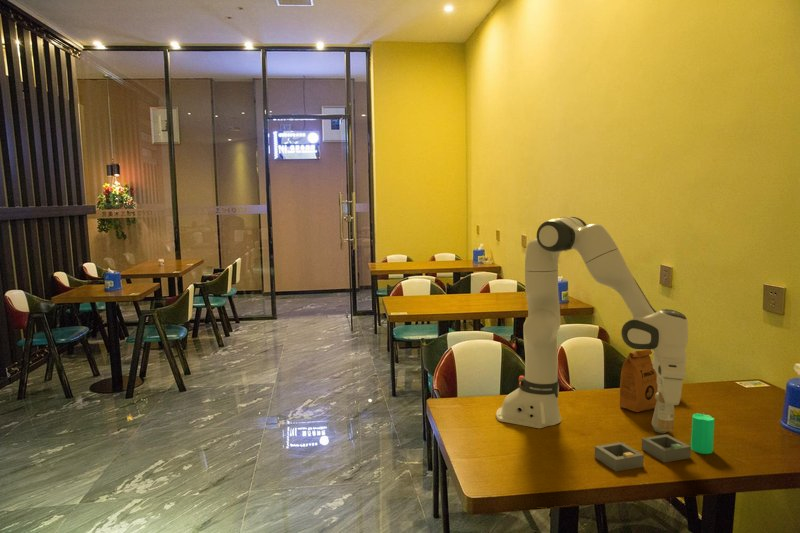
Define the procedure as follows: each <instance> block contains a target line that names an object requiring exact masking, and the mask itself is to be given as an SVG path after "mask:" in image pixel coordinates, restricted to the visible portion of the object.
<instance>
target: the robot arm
mask: <svg viewBox="0 0 800 533" xmlns="http://www.w3.org/2000/svg"><path fill="white" fill-rule="evenodd" d="M536 231H537V232H536V238H534V239H531V240H529V242H528V243H527V246H526V251H525V258H524V259H525V260H524V285H525V286H524V287H525V293H524V294H525V297H526V302H527V303H526V304H527V312H528V314H527V317H526V319H525V321H524V322H523V328H522V330H523V331H522V332H523V345H524V346H523V347H524V357H525V360H524V362H525V363H524V365H525V366H524V369H525V370H524V375H519V377H518V388H516V389H515V390H513V391H512V392H510V393H509V394H507V395H506V396H505V397H504V400H503V402H502V406H500V407H499V408H497V410H496V412H495V417H496V420H498V421H499V422H503V423H508V424H513V425H519V426H525V427H529V428H530V427H531V428H537V429H542V428H545V427H550V426H551V427H552V426H555V425H558V424H559V423H561V422H562V417H561V413H560V408H559V399H558V397H559V394H560V383H559V380H558V369H559V368H558V366H559V357H558V347H557V346H558V342H557V341H558V339H557V338H558V337H557V336H558V331H559V329H560V327H561V308H560V307H561V306H560V296H559V265H558V264H559V256H560V254H561V253H562V252H567V251H570V250H575V251H577V253H579V255H580V257H581V258H582V261H583V263H584V264H585V267H586V268H587V271H588V272H589V273H590V275H591V277H592V278H593V279H594V280H595V281H596V282H597V283H599V284H600V285H603V286H606V287H608V288H611V289H613V290H614V291H615V292H616V293H618V295H620V296H621V298H622V300H623V302H624V304H625V305H626V306H627V308H628V310H629V312H630V313H631V315H632V318H631V319H629V320H627V321H626V322H625V323H624V324H623V326H622V328H621V332H620V333H621V334H620V335H621V338H622V340H623V342H624V344H625V345H627V346H628V347H629V348H632V349H635V350H647V349H651V351H653V355H652V356H653V358H652V361H653V369H654V370H656V371H657V385H659V384H661V387H662V390H661V394H662V397H663V399H664V401H665V405H664V412H665V413H671V408H672V405H674V406H678V405H680V402H681V397H682V391H683V384H684V380H686V378H687V377H686V376H687V373H686V368H687V366H686V365H687V351H686V348H687V345H688V341H689V322H688V317H686V316H685V314H683V313H682V312H679V311H678V310H673V309H668V308H661V309H660V310H656V309H655V308H654V307H653V306H652V304H650V301H649V300H648V298H647V297H646V295H645V294H644V292H643V290H642V288H641V287H640V285H639V283H638V282H637V280H636V278H634V276H633V274H632V272H631V270H630V269H629V267H628V264H627V263H626V261H625V259H624V257H623V254H622V253H621V251H620V249H619V247H618V246H617V244H616V241H614V239H613V238H612V236H611V235H610V233H609V232H608V230H607V229H606V228H605V227H604V226H603V225H602V224H599V223H590V224H587V223H586V222H585V221H584V220H583V219H582V218H579V217H576V216H561V217H557V218H550V219H548V220H545V221H544V222H542V223H541V224H540V225H539V227H538V228H537V230H536Z"/></svg>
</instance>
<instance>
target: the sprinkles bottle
mask: <svg viewBox="0 0 800 533" xmlns="http://www.w3.org/2000/svg"><path fill="white" fill-rule="evenodd" d="M661 390H662V387H661V384H659V385H658V391H659V395H658V426H657V427H658V428H659V429H660V430H663V431H668V432H672V431H674V430H675V429H674V419H675V405H672V408H671V413H665V412H664V405H665V401H664V399H663V397H662V394H661Z"/></svg>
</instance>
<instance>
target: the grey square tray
mask: <svg viewBox="0 0 800 533" xmlns="http://www.w3.org/2000/svg"><path fill="white" fill-rule="evenodd" d="M641 450H642V451H644V452H645V453H646V454H649V455H651V456H653V457H654V458H656V459H658V460H659V461H661V462H663V463H671V462H674V461H675V462H676V461H681V460H685V459H687V460H688V459H691V453H692V452H691V450H692V449H691V445H689V444H688V443H685V442H684V441H681V440H679V439H678V438H675V437H673V436H671V435H670V434H666V433H664V434H660V435H656V436H655V435H654V436H649V437H648V436H646V437H642V438H641Z"/></svg>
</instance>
